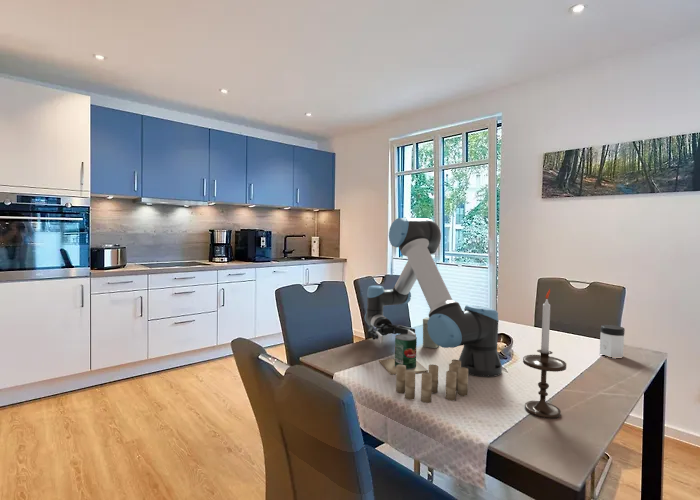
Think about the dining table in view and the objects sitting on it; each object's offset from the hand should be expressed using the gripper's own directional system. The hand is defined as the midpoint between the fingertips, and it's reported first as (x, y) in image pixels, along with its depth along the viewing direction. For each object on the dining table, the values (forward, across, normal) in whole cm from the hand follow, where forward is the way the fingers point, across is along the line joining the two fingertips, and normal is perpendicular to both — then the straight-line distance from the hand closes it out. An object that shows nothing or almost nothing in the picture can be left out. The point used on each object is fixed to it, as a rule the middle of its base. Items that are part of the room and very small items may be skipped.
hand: (398, 338), depth 148 cm
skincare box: (-15, -21, -9) cm, 27 cm away
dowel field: (+29, 0, -9) cm, 31 cm away
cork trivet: (+6, 0, -9) cm, 11 cm away
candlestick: (+47, -26, -9) cm, 54 cm away
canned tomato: (+7, 0, -8) cm, 11 cm away
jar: (+11, -89, -9) cm, 91 cm away
